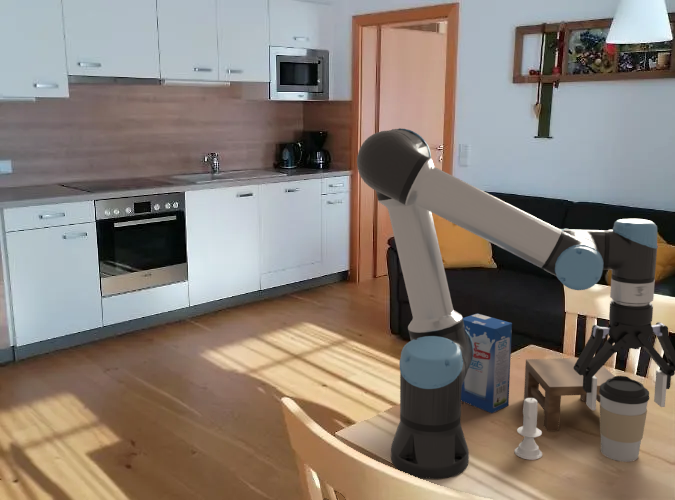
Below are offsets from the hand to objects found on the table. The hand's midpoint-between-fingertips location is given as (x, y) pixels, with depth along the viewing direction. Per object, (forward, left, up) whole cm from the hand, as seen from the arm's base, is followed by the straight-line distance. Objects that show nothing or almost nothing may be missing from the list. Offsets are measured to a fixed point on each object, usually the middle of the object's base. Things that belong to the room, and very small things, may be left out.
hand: (625, 405), depth 131 cm
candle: (-18, +1, -10) cm, 21 cm away
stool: (-3, +18, -10) cm, 21 cm away
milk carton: (-21, +25, -10) cm, 35 cm away
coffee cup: (0, 0, -10) cm, 10 cm away
